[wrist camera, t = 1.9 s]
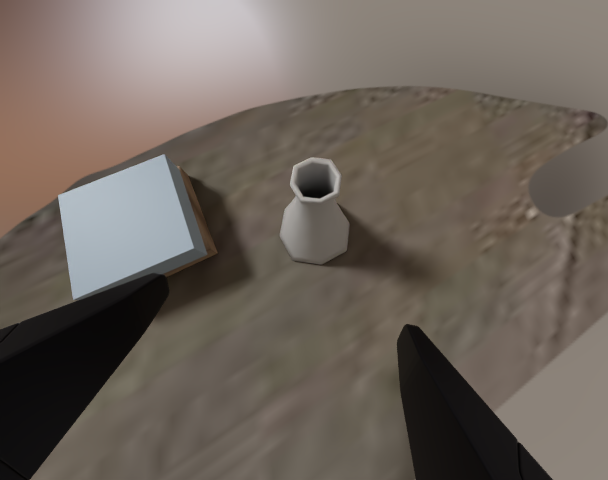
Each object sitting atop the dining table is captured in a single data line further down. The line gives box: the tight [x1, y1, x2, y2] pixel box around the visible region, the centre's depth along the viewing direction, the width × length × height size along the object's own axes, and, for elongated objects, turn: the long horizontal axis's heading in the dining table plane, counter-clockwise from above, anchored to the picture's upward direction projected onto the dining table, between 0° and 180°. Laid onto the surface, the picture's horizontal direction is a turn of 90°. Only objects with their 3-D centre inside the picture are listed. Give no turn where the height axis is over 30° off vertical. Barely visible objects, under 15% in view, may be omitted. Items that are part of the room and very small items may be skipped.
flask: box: [280, 157, 350, 265], centre depth 19 cm, size 7×7×10 cm
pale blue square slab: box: [58, 154, 207, 300], centre depth 21 cm, size 10×10×2 cm
